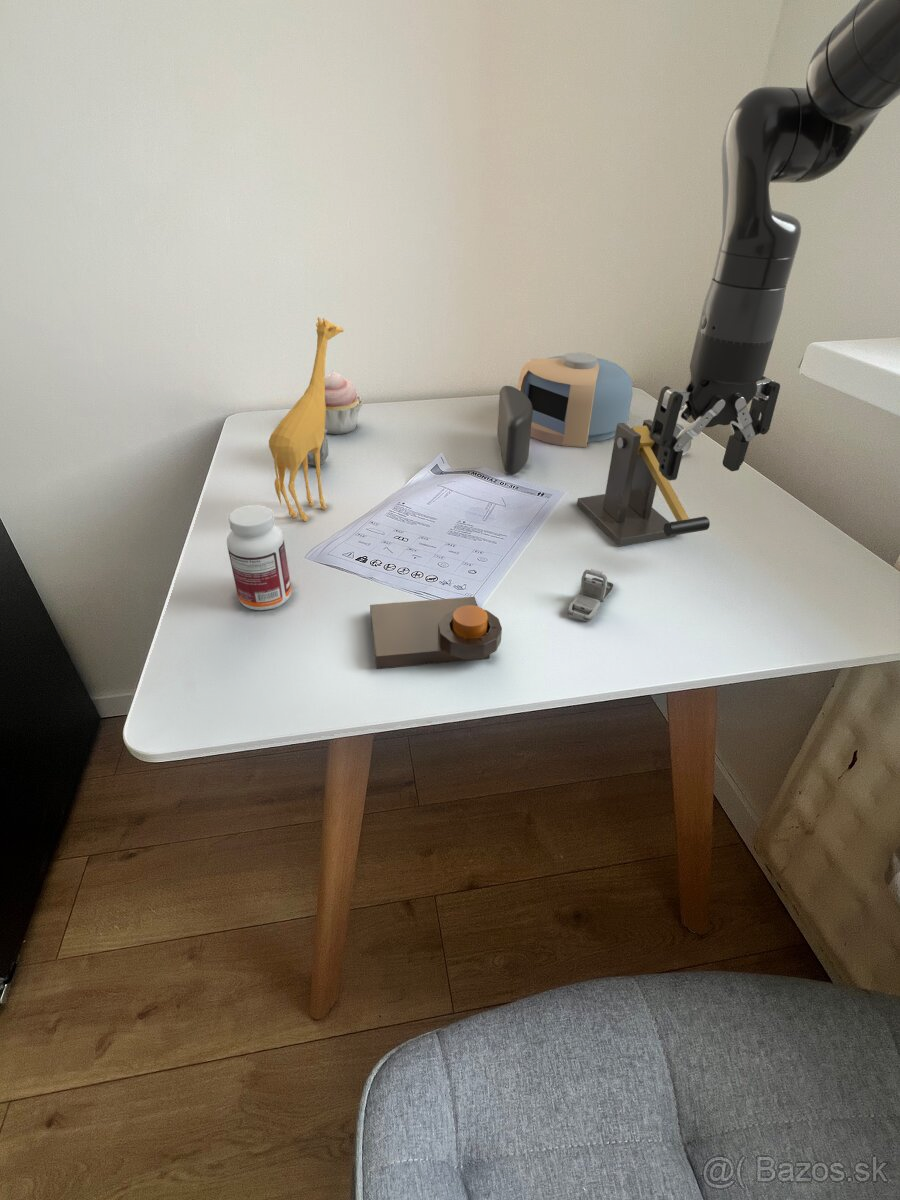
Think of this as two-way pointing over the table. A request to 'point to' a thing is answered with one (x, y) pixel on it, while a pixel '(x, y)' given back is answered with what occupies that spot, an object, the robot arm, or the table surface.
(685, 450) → the smartwatch
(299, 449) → the giraffe
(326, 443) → the stone
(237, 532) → the pill bottle
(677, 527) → the lever handle
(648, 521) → the lever stand
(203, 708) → the table surface
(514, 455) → the leaning round-cornered charcoal block
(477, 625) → the light button
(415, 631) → the switch block
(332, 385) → the cupcake
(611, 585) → the strap clip
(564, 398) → the alarm clock
